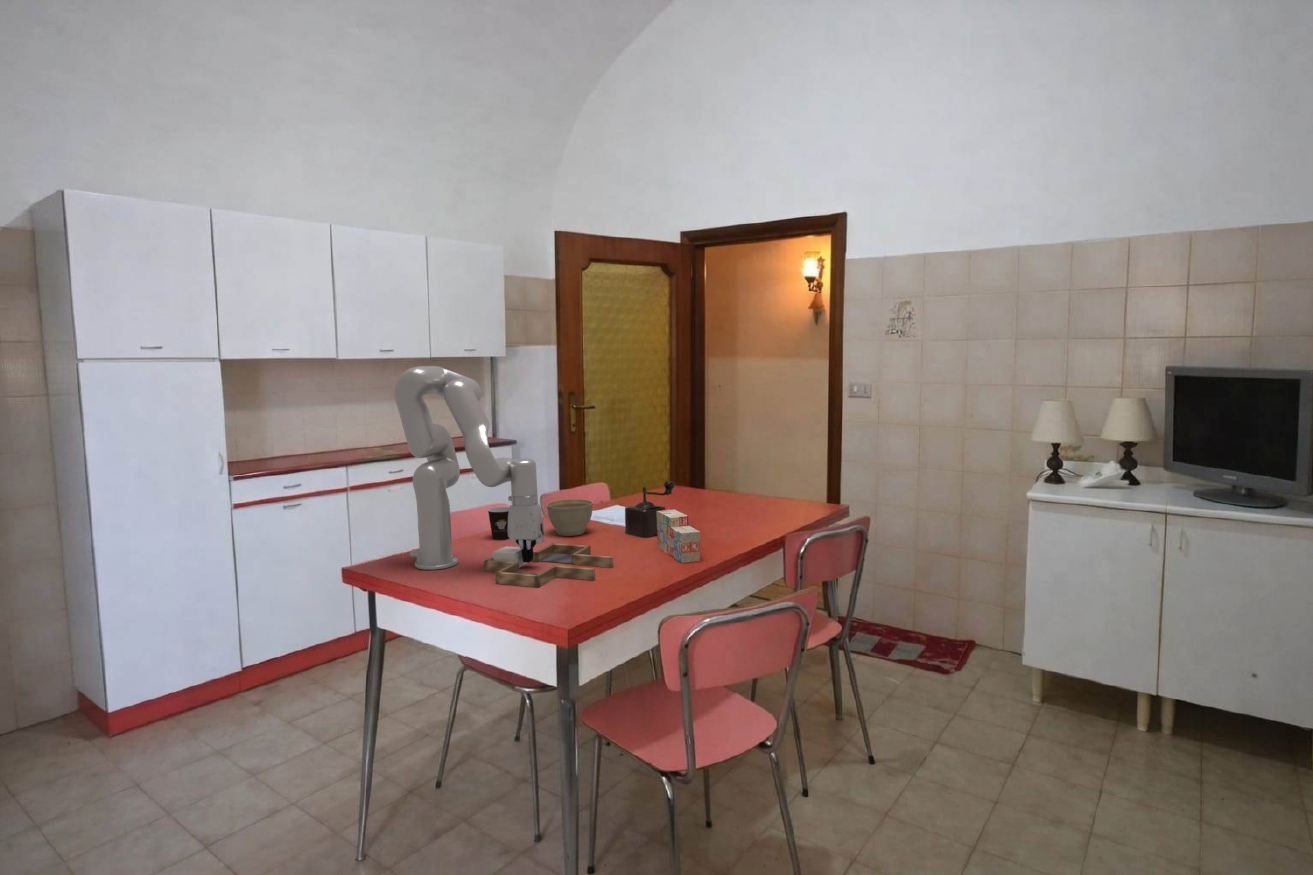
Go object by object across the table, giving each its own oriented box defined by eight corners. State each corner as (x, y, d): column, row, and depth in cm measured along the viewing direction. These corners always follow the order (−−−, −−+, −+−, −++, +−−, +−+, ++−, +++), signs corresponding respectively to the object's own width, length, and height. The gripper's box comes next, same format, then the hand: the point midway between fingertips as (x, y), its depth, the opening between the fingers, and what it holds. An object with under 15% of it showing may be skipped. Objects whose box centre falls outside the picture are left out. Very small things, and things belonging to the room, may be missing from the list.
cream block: (493, 568, 230) (493, 551, 230) (505, 562, 237) (505, 546, 236) (514, 569, 228) (513, 553, 227) (526, 563, 235) (525, 547, 234)
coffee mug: (484, 540, 266) (483, 511, 264) (495, 534, 274) (494, 506, 273) (516, 541, 263) (515, 512, 262) (526, 535, 271) (525, 507, 270)
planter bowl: (578, 526, 284) (577, 497, 283) (602, 533, 272) (601, 503, 270) (539, 532, 275) (538, 502, 274) (562, 541, 262) (561, 509, 261)
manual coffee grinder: (645, 538, 264) (644, 486, 262) (624, 533, 272) (623, 482, 270) (678, 530, 274) (677, 480, 272) (656, 526, 282) (655, 477, 280)
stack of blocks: (700, 561, 234) (700, 521, 232) (681, 563, 232) (680, 523, 230) (675, 545, 254) (674, 508, 253) (657, 547, 252) (656, 510, 250)
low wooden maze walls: (465, 580, 218) (464, 570, 218) (524, 550, 250) (524, 541, 250) (578, 590, 207) (578, 579, 206) (625, 558, 239) (625, 548, 239)
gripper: (496, 502, 228) (499, 563, 230) (541, 503, 223) (544, 566, 225) (509, 497, 235) (512, 556, 237) (553, 499, 230) (556, 559, 232)
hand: (527, 561), depth 231 cm, fingers closed
